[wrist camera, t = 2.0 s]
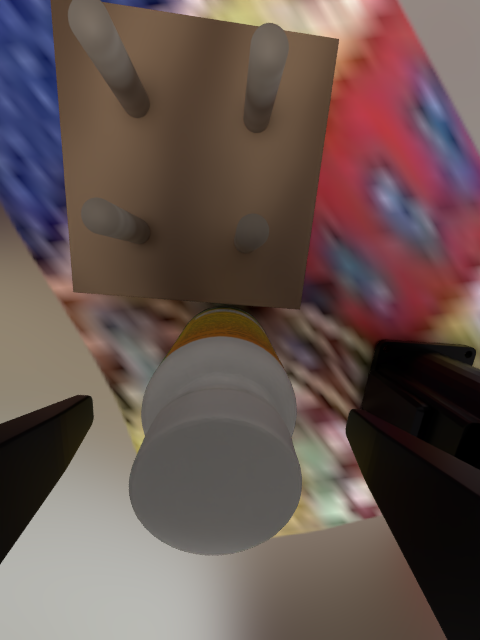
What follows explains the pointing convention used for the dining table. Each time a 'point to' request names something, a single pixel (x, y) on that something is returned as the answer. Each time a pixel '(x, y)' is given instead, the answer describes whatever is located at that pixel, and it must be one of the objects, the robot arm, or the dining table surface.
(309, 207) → the peg cradle
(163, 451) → the supplement bottle
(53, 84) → the dining table surface
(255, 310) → the dining table surface
